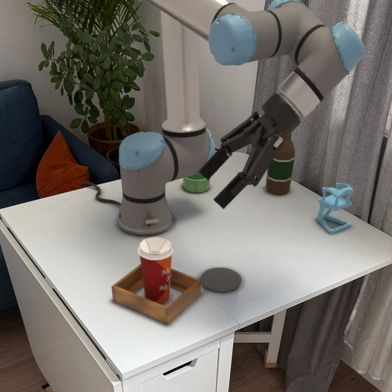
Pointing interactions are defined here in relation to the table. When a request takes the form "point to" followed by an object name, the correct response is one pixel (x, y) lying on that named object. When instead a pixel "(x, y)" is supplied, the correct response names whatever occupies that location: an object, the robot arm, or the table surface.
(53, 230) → the table surface
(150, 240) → the paper cup
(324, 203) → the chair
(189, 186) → the ramekin
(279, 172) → the beer bottle
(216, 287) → the coaster
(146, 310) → the wooden frame
